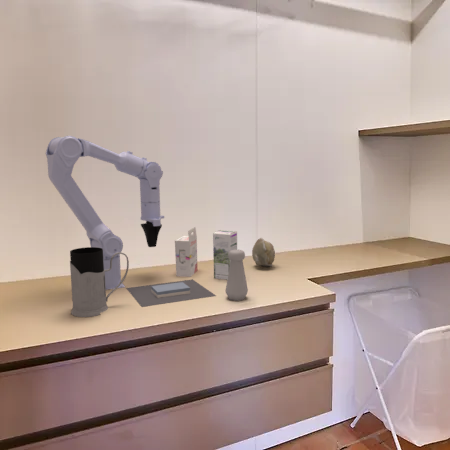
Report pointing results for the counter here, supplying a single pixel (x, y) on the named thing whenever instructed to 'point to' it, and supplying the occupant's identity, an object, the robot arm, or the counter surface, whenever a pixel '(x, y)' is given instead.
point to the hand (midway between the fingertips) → (152, 246)
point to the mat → (149, 299)
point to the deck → (170, 289)
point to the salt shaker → (236, 276)
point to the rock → (263, 253)
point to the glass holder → (89, 281)
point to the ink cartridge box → (186, 254)
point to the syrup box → (223, 252)
